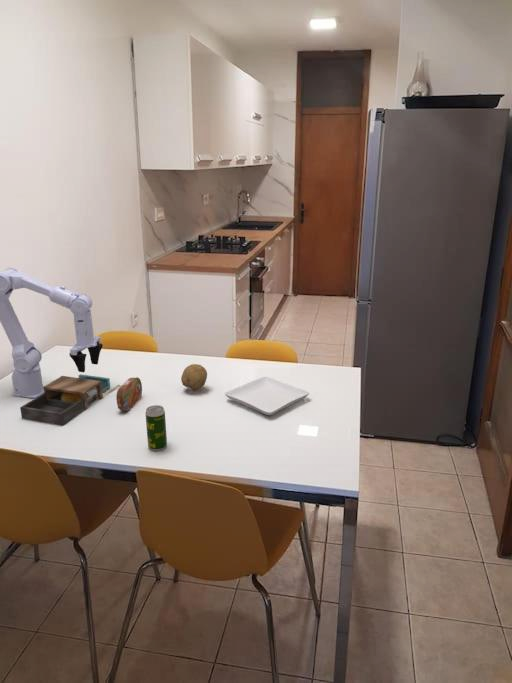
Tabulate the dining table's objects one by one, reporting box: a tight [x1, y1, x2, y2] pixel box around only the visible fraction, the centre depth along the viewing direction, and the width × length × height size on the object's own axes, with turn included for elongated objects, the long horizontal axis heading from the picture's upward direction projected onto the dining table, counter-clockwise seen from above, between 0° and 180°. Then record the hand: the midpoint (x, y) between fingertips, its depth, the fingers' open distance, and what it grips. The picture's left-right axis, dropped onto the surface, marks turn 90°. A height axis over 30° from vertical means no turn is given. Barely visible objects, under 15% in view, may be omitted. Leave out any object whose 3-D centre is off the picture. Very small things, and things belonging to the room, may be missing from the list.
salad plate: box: [224, 376, 310, 416], centre depth 181 cm, size 21×21×3 cm
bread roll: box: [60, 392, 89, 403], centre depth 182 cm, size 8×9×4 cm
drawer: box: [47, 374, 111, 408], centre depth 184 cm, size 12×19×4 cm, turn 162°
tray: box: [19, 375, 121, 426], centre depth 181 cm, size 16×32×6 cm, turn 162°
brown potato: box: [180, 363, 208, 392], centre depth 188 cm, size 9×9×10 cm
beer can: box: [144, 404, 168, 452], centre depth 151 cm, size 5×5×12 cm
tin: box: [115, 376, 143, 412], centre depth 178 cm, size 15×3×8 cm, turn 168°
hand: (88, 367), depth 185 cm, fingers open, 7 cm apart
